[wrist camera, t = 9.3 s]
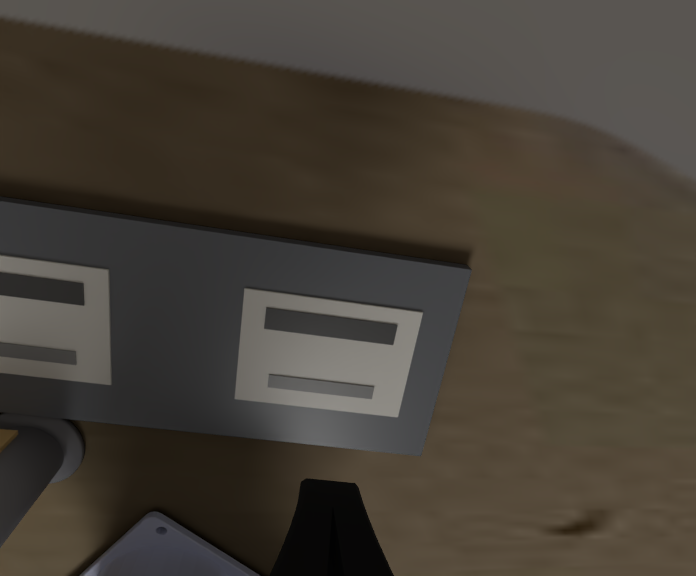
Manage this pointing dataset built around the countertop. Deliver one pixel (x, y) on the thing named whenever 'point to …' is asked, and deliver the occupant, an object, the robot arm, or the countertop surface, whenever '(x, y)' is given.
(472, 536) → the countertop surface
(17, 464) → the bar
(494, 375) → the countertop surface
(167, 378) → the label plate
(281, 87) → the countertop surface
